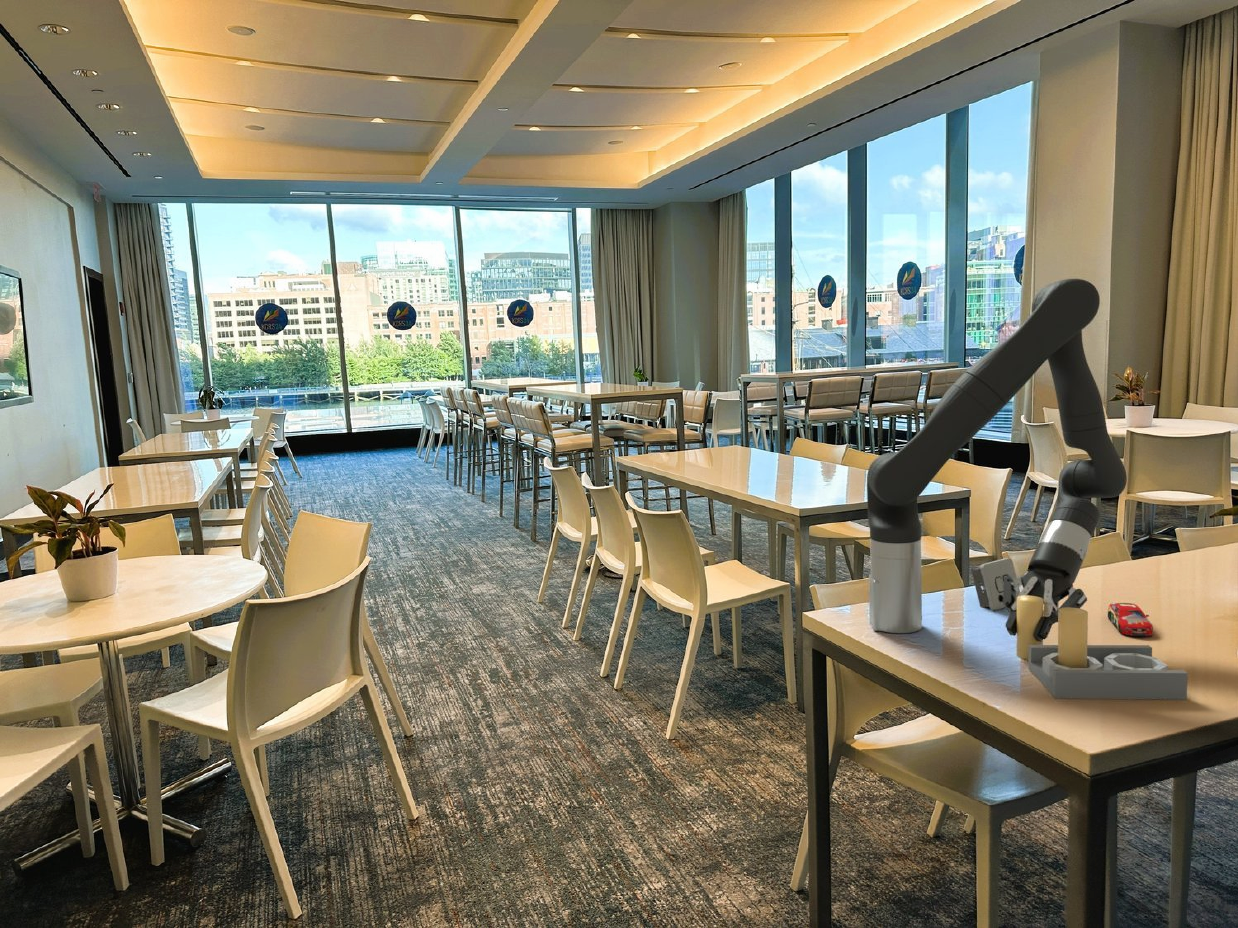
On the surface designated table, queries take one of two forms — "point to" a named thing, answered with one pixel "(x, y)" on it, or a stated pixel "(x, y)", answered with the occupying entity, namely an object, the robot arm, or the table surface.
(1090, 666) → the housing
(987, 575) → the electrical switch
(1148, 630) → the race car
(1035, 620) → the domed yellow post
